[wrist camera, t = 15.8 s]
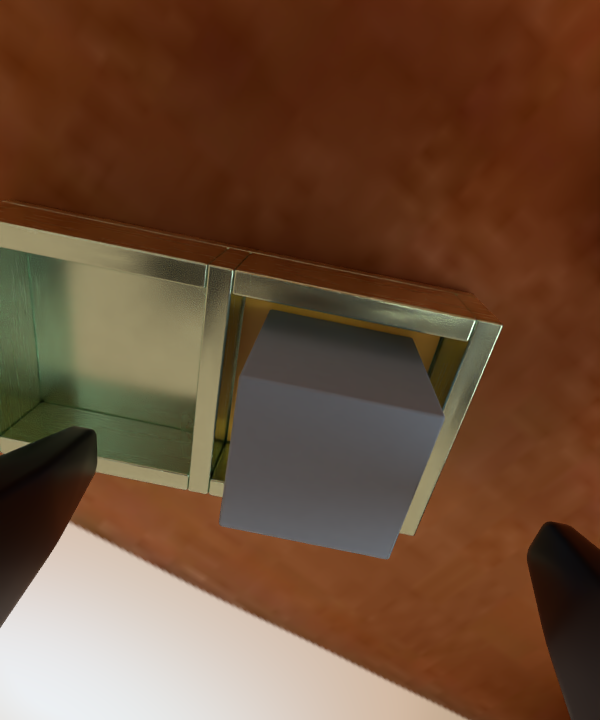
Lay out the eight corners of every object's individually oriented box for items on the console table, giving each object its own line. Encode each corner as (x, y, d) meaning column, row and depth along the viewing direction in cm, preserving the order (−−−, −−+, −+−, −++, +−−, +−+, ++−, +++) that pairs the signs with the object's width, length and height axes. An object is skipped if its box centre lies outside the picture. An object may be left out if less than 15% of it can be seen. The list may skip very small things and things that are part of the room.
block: (413, 337, 12) (447, 417, 8) (375, 452, 13) (389, 561, 10) (269, 307, 12) (238, 375, 8) (250, 427, 13) (217, 527, 10)
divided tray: (473, 293, 12) (504, 324, 9) (403, 480, 14) (414, 536, 12) (10, 199, 11) (-66, 208, 9) (33, 406, 14) (-21, 449, 12)
